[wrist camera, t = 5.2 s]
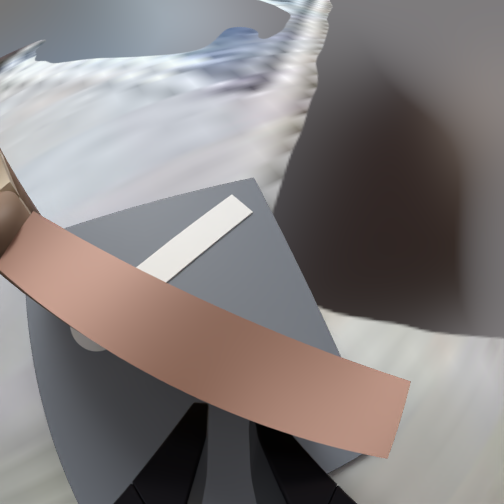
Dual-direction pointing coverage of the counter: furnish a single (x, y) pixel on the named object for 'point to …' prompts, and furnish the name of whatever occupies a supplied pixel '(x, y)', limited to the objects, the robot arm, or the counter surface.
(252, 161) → the counter surface
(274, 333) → the fence gate
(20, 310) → the counter surface
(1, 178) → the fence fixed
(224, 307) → the board
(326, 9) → the counter surface
